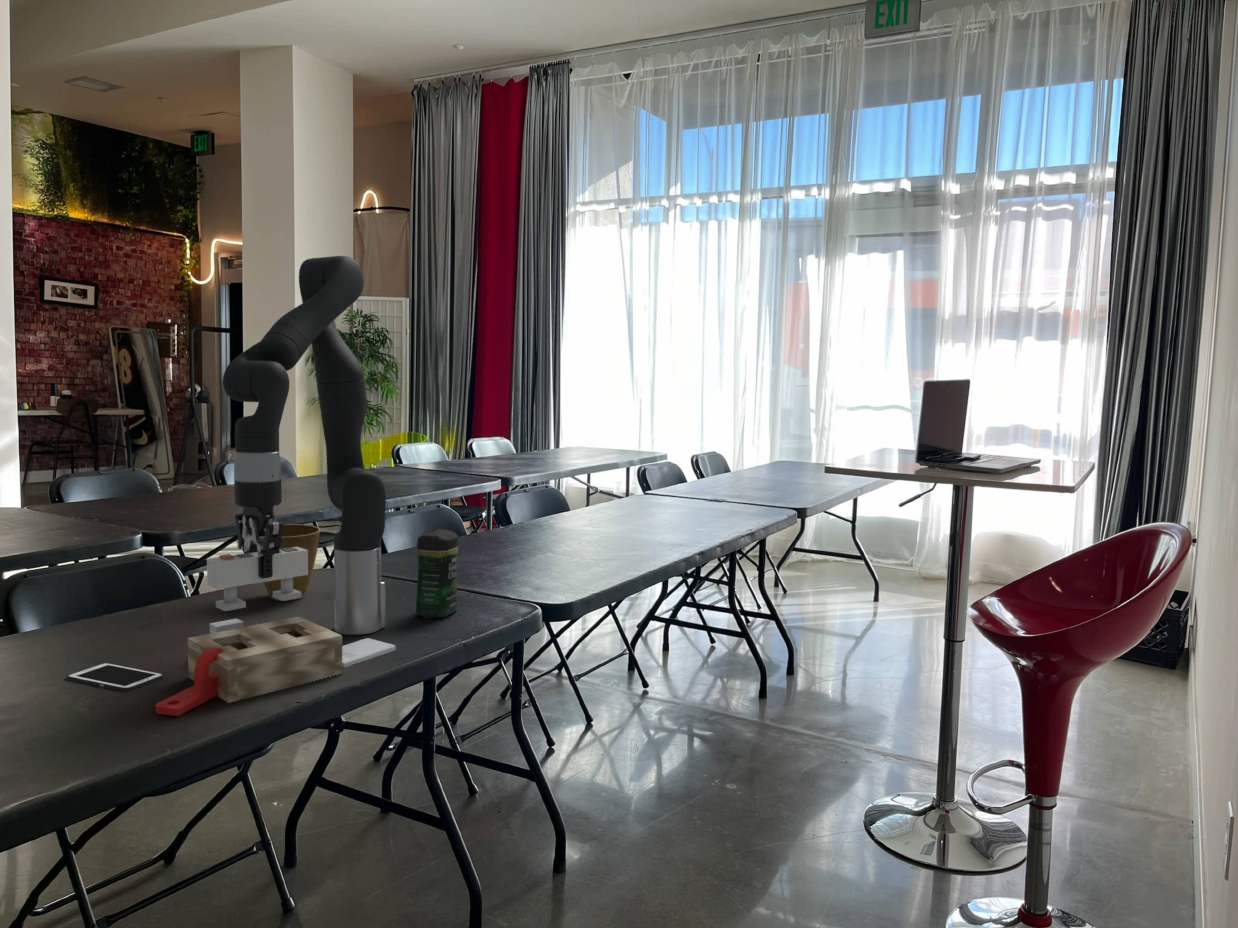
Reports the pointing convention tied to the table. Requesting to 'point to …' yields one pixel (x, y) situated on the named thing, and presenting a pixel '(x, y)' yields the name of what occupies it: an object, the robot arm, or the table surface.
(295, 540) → the plant pot
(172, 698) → the bracket
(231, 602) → the power strip
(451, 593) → the coffee jar
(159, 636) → the table surface
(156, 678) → the cell phone
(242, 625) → the block
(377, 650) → the external hard drive
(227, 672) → the wooden block with holes
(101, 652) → the table surface
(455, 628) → the table surface
